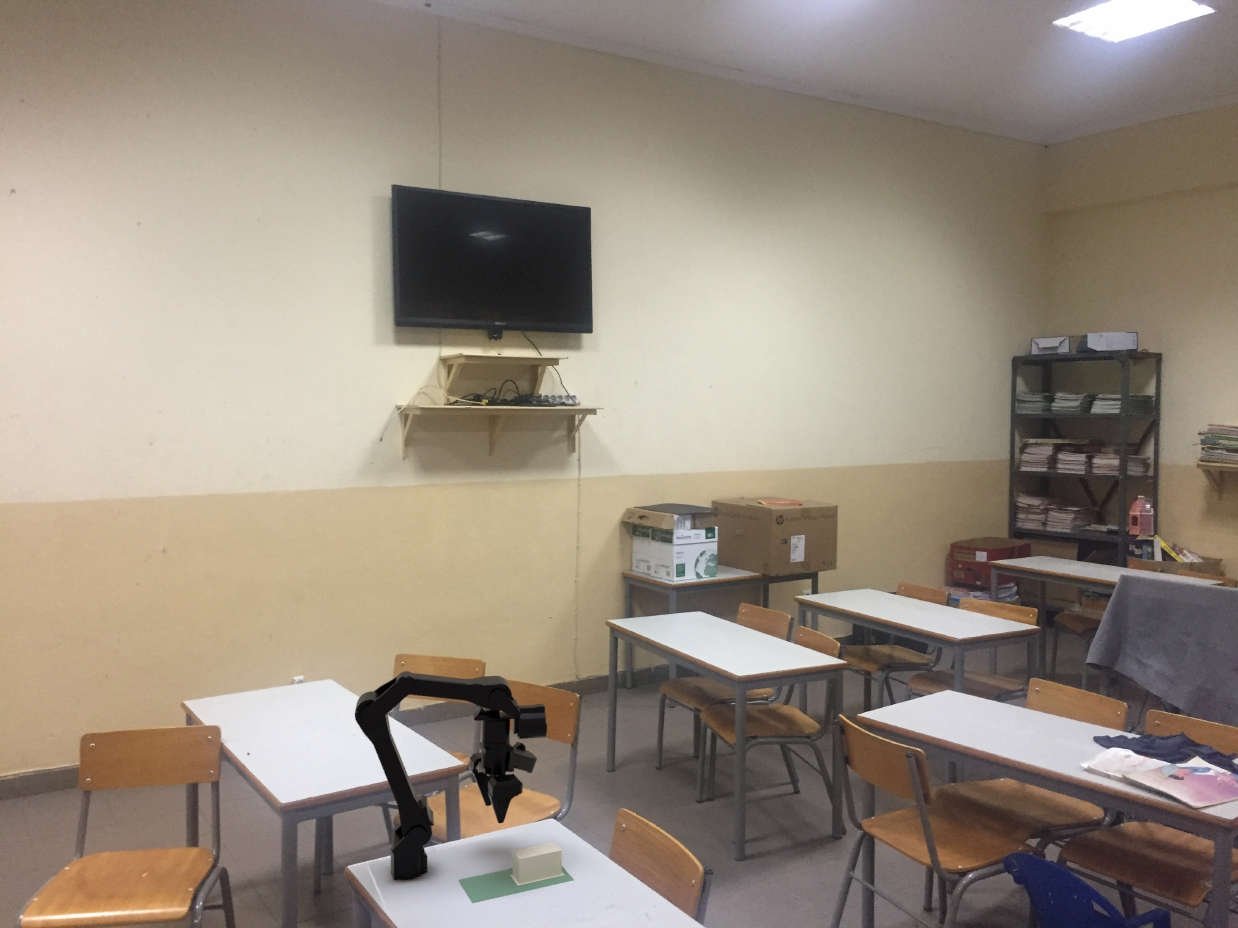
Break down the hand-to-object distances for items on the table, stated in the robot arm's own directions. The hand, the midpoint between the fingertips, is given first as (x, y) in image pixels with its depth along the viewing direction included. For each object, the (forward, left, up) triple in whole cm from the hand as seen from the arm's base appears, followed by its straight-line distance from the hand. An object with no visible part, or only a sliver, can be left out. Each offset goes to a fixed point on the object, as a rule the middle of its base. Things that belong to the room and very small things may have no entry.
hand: (494, 813), depth 191 cm
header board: (+2, -8, -12) cm, 14 cm away
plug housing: (+6, -8, -11) cm, 15 cm away
